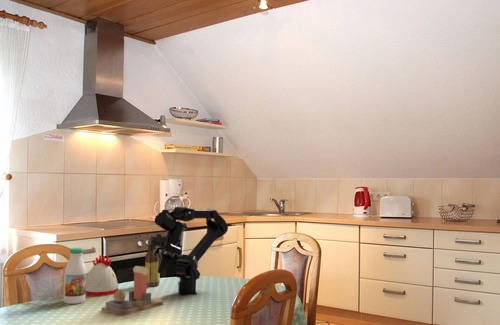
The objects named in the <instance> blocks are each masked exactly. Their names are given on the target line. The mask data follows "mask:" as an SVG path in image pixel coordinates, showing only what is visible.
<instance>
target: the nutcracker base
mask: <svg viewBox="0 0 500 325" xmlns="http://www.w3.org/2000/svg"><path fill="white" fill-rule="evenodd" d="M162 305H164V301H163V300H159V299H155V298H152V292H146V294H143V301H140V300H136V299H134V289H133V290H129V291H128V300H126V299H124V300H123V301H122V302H116V301H115V300H114V299H112V300H108V301H105V306H102V307H101V312H104V313H108V314H111V315H114V316H116V317H117V316H118V317H123V316H126V315H130V314H134V313H136V312H137V313H138V312H141V311H144V310H149V309H151V308H156V307H160V306H162Z"/></svg>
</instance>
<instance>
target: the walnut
mask: <svg viewBox="0 0 500 325" xmlns="http://www.w3.org/2000/svg"><path fill="white" fill-rule="evenodd" d="M125 298H126V293H125V291H123V290H121V289H120V290H119V289H118V291H116V292H115V294H113V300H115V301H116V302H122V301H123V300H126V299H125Z"/></svg>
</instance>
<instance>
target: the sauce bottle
mask: <svg viewBox="0 0 500 325" xmlns="http://www.w3.org/2000/svg"><path fill="white" fill-rule="evenodd" d="M148 245H149V239H148V240H147V248H148V249H147V252H146V253H145V263H144V264H145V266H144V267H146V268H148V270H149V271H148V274H147V287H158V286H159V285H160V278H161V277H160V275H161V273H158V272H157V270H158V262H159V258H158V257H157V256H155V255H153V254H152V253H153V251H154V250H155V249H157V248H158V246H148Z"/></svg>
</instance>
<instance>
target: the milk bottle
mask: <svg viewBox="0 0 500 325" xmlns="http://www.w3.org/2000/svg"><path fill="white" fill-rule="evenodd" d="M83 252H84V249H83V248H82V247H72V248H70V250H69V255H70V257H69V260H68V262H67V264H66V266H65V270H64V276H63V277H64V279H63V281H64V282H63V297H62V298H63V300H62V301H63V303H65V304H67V305H68V304H69V305H77V304H81V303H85V301H86V295H85V292H86V276H87V267H86V265H85V262H84V259H83V254H84V253H83Z"/></svg>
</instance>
